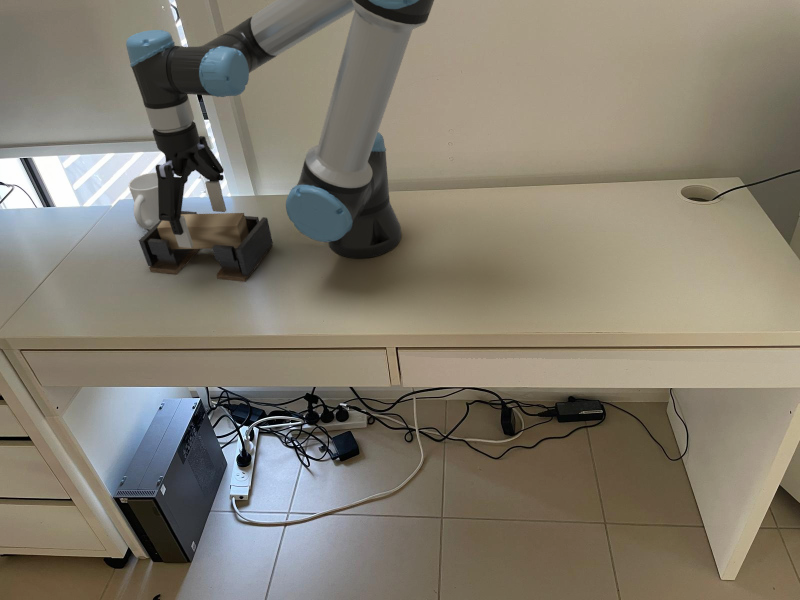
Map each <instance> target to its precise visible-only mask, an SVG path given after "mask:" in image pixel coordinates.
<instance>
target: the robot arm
mask: <svg viewBox="0 0 800 600" xmlns="http://www.w3.org/2000/svg"><path fill="white" fill-rule="evenodd" d="M434 2H435V0H274V1H273V2H271V3H270V4H268V5H266V6H265V7H264V8H262V9H260V10H259V11H258V12H256V13H255V14H253V15H252V16H250V17H248V18H246V19H245V20H244V21H242V22H241V23H239V24H238V25H236V26H234V27H233V28H231V29H230V30H228V31H226V32H224V33H223V34H221V35H218V36H217V37H215V38H213V39H212V40H210V41H208V42H207V43H204V44H203V45H200V46H180V45H175V41H174V39H173V36H172V35H171V32H169V31H167V30H163V29H152V30H151V29H149V30H145V31H141V32H137V33H134V34H132V35H130V36H129V37H128V38H127V39H126V41H125V42H126V43H125V46H126V50H127V55H128V59H129V62H130V65H129V66H130V67H131V70H132V72H133V75H134V77H135V81H136V84H137V86H138V89H139V92H140V95H141V98H142V102H143V106H144V109H145V111H146V115H147V118H148V121H149V124H150V125H149V126H150V127H151V128H152V129H153V130H152V134H153V137H154V140H155V144H156V148H157V149H158V151H160V152H161V153H163V155H164V157H165V162H164V163H163V164H156V165H155V173H157V177H158V206H159V220H162V221H169V222H170V225H171V228H172V231H173V233H174V234H175V237H176V240H177V243H178V246H179V247H187V248H192V247H193V243H192V240H191V236H190V233H189V230H188V227H187V224H186V220H185V217H184V216H181V211H182V207H183V199H184V191H185V185H186V183H188V179H189V178H188V177H189V176H191V174H192V172H193V173H194V172H195V171H196V172H197V173H198V174H200V175H201V176H202V177H203V178H205V179H206V181H205V182H204V184H205V187H206V192H207V196H208V198H209V203H210V205H211V209H212V212H215V213H216V212H217V213H225V212H227V208H226V204H225V199H224V196H223V191H222V187H221V183H220V181H224V175H223V173H224V167H223V166H222V165H221V163H220V161H219V160H218V158H217V157H216V156H215V154H214V152H213V151H212V149H211V148H210V146H209V144H208V141H207V138H206V136H204V135H200V134H199V132H198V128H197V124H196V122H195V121H194V120H195V116H194V115H195V114H194V112H193V109H192V105H191V103H190V98H189V95H195V96H196V95H199V96H212V97H215V98H216V97H217V98H225V97H235V96H237V97H238V96H240V95H241V94H242V93H244V91H245V90H246V85H248V83H249V80H250V79H249V78H250V73H252V72H253V71H255V70H256V69H258V68H259V67H261V66H263V65H265V64H266V63H268V62H269V61H272V60H273V59H275V58H276V57H277V56H279V55H280V54H282V53H284V52H286V51H289V49H291V48H293V47H294V46H296V45H298V44H299V43H301V42H303V41H304V40H306V39H308V38H310V37H312V36H313V35H315V34H316V33H317V32H320V31H322V30H323V29H325V28H326V27H328V26H329V25H331V24H333V23H335V22H338V20H340V19H342V18H344V17H345V16H347V15H348V14H351V13H352V12H353V16H352V19H351V22H350V26H349V30H348V34H347V38H346V42H345V45H344V48H343V52H342V56H341V60H340V63H339V68H338V70H337V75H336V78H335V81H334V86H333V90H332V92H331V97H330V100H329V105H328V108H327V112H326V115H325V119H324V123H323V125H322V130H321V133H320V137H319V140H318V144H317V145H315V146H312V147H311V148H309V149H308V151H307V152H306V155H305V157H304V161H303V165H302V169H301V173H300V176H299V180H298V182H297V184H296V185H295V186H294V187H292V188H291V189H290V191H289V193H288V195H287V197H286V201H285V210H286V213H287V216H288V219H289V220H290V222H292V224H293V225H294V227H295V228H296V229H297V230H298V231H299V232H300V233H301V234H303V235H304V236H305V237H308V238H310V239H312V240H315V241H317V242H322V243H328V246H329V248H330V249H331V251H333V252H334V253H336V254H337V255H339V256H341V257H342V256H343V257H347V258H351V259H367V258H368V259H369V258H374V257H379V256H382V255H383V254H386V253H388V252H390V251H391V250H393V249H394V248H396V247H397V245H398V244H400V241H401V239H402V231H401V224H400V221H399V219H398V217H397V214H396V213H395V210H394V208H393V206H392V204H391V201H390V191H389V190H390V189H389V178H388V166H387V153H386V152H387V148H386V146H385V138H384V136H383V134H382V133H381V132H379V130H380V127H381V123H382V120H383V118H384V115H385V112H386V110H387V109H386V108H387V107H388V103H389V100H390V97H391V95H392V91H393V88H394V86H395V82H396V79H397V77H398V73H399V71H400V67H401V65H402V63H403V59H404V55H405V53H406V50H407V47H408V44H409V41H410V39H411V35H412V32H413V30H415V29H418V28H419V27H422V26H423V25H425V24H426V23H427V21H428V18H429V16H430V13H431V10H432V7H433V4H434ZM175 175H176V176H175ZM174 210H175V213H174Z"/></svg>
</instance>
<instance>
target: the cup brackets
mask: <svg viewBox="0 0 800 600" xmlns="http://www.w3.org/2000/svg"><path fill="white" fill-rule="evenodd" d="M174 213H175V210H174ZM181 214H198V213H197V211H186V210H181ZM245 219H246V223H247V227H248V231H249V234H248V236H247V237H246V238H245V239H244V240H243V242H242V243H241V244H240V245H239V246H238V248H234V246H225V245H214V246H213V247H212V248H211V249H212V252H213V255H214V258H215V259H214V260H215V261H216V262H219V264H220V265H219V266H220V269H219V271H218V272H216V274H215V276H216V278H217V280H224V281H225V280H226V281H227V280H228V281H236V282H243V283H244V282H247V280H248V279H249V277H250V276H251V275H252V273H253V272H254V271H255V269H256V268H257V267H258V266H259V264H260V262H261V261H263V259H264V258H265V256H266V255H267V254H268V252H269V251H270V250H271V248H273V243H274V242H273V237H272V233H271V232H272V231H271V229H270V224H269V218H268V217H265V216H264V217H261V219H260V218H259V216H250V215H245ZM161 222H162V220H160V221H159V222H158V223H157V224H156V225H155V226H154V227H153V228H152V229H151V230H149V231H147V232H146V233H145V234H144V235H143V236H142V237H141V238H140V239H139V240H138V242H139V246H140V247H141V251H142V253H143V256H144V258H145V261H146V265H147V266H148V269H149V272H150V273H158V274H159V273H160V274H168V275H169V274H171V275H178V274H179V273H180V271H182V270H183V268H184V267H185V266H186V265H187V264H188V263H189V262H190V260H191V259H193V257H194V256H195V255H196V254H197V253H199V251H200V250H201V249H171V246H170V243H169V240H161V237H160V235H159V232H158V229H157V227H158V226H159V224H160V223H161Z"/></svg>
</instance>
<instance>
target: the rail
mask: <svg viewBox="0 0 800 600" xmlns="http://www.w3.org/2000/svg"><path fill="white" fill-rule="evenodd" d="M181 216H184V217H185V220H186V224H187V227H188V230H189V233H190V236H191V240H192V243H193V247H192V248H187V247H179V246H178V243H177V240H176V237H175V234H174V233H173V231H172V228H171V225H170V222H169V221H162V222H161V223H160V224H159V226H158V227H157V229H158V232H159V235H160V237H161V240H169V243H170V246H171V249H200V250H203V249H204V250H206V249H207V250H208V249H212V247H213V246H214V245H225V246H234V248H238V246H239V245H240V244H241V243H242V242H243V240H244V239H245V238H246V237H247V236H248V234H249V231H248V227H247V223H246V219H245V216H246V215H245V212H226V213H225V212H217V213H216V212H215V213H197V214H181Z"/></svg>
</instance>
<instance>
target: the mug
mask: <svg viewBox="0 0 800 600" xmlns="http://www.w3.org/2000/svg"><path fill="white" fill-rule="evenodd" d="M128 188H129V191H130V194H131V197H132V200H133V202H134V203H133V216H134V219H135V222H136V223H137V225H138V226H139V227H140V228H141V229H144V230H145V229H146V230H151V229H152V228H153V227H154V226H155V225H156V224H157V223H158V222H159V221H160V220H159V206H158V177H157V173H156V172H148V173H144V174H141V175H138V176H136V177H134V178H133V179H131V180H130V181H129V182H128Z"/></svg>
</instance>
